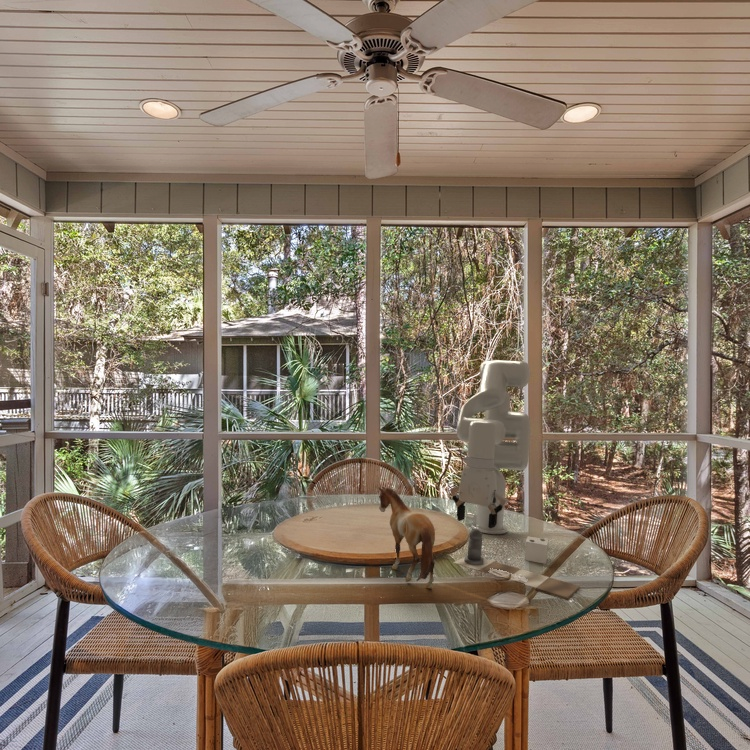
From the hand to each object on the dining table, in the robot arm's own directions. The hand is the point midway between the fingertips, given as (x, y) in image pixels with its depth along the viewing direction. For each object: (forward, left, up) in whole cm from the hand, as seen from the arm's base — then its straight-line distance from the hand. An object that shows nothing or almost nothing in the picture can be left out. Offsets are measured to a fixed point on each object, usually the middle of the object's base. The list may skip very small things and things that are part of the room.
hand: (476, 523), depth 149 cm
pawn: (0, +1, -11) cm, 11 cm away
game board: (+12, +1, -12) cm, 17 cm away
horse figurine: (-10, -23, -12) cm, 28 cm away
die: (+12, +18, -12) cm, 24 cm away
